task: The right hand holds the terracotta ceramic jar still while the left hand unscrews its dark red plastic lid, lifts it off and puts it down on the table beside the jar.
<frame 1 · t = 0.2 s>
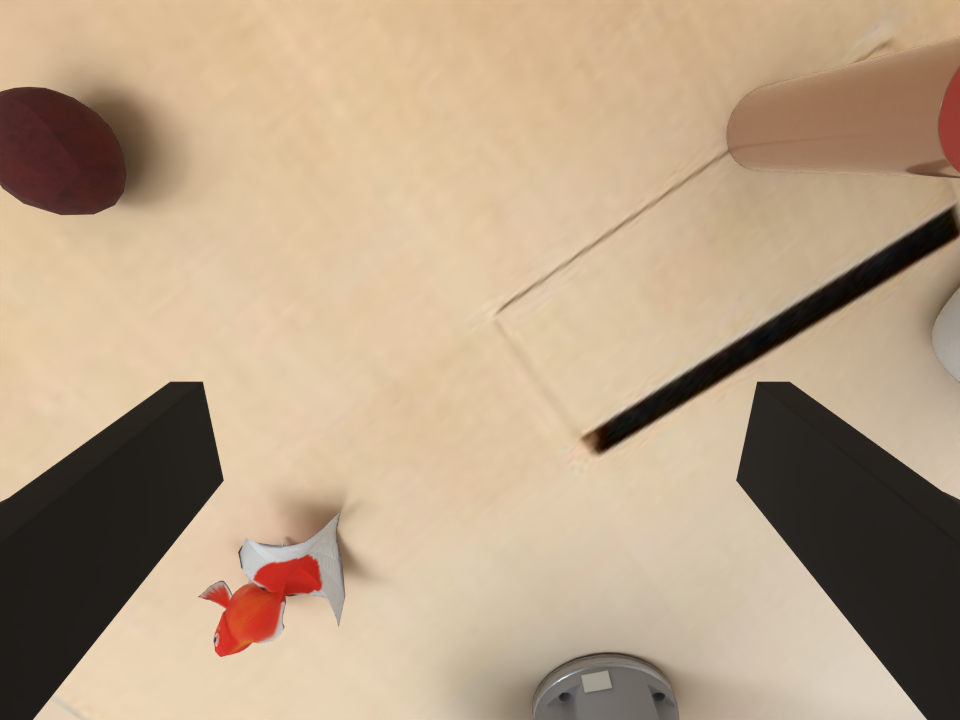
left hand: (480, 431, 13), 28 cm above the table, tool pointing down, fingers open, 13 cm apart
jar: (765, 128, 36), on the table
dark maroon ball: (97, 156, 36), on the table
fish: (293, 549, 49), on the table
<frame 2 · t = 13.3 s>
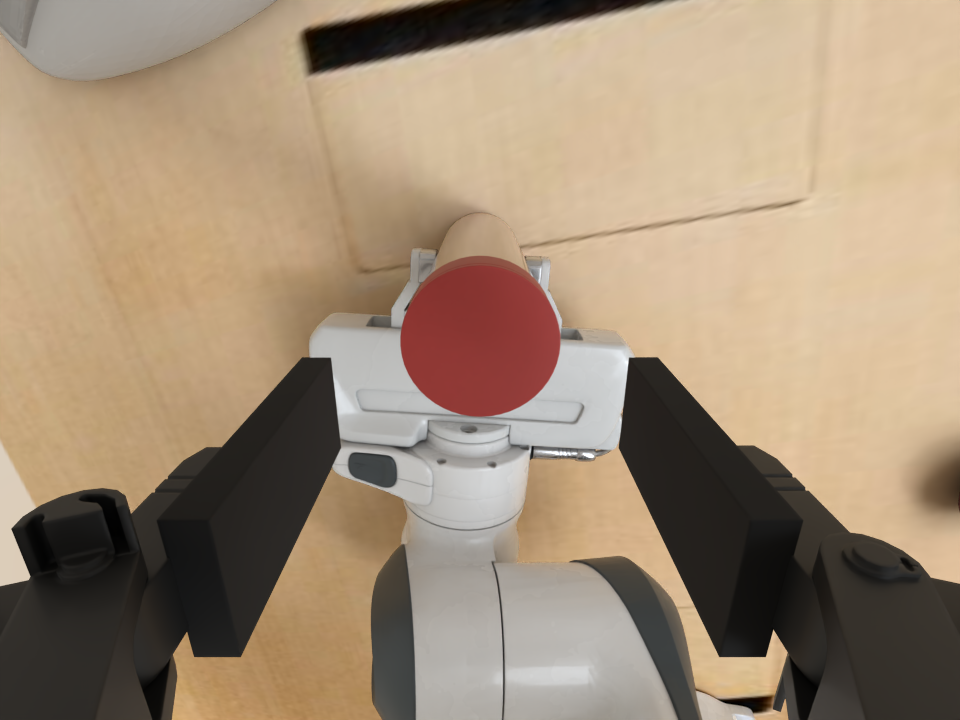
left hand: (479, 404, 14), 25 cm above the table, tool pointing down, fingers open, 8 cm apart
right hand: (480, 253, 31), fingers closed on jar, 5 cm apart
jar: (480, 251, 37), on the table, touching right hand
lid: (480, 342, 19), point 20 cm above the table, screwed on, not yet turned
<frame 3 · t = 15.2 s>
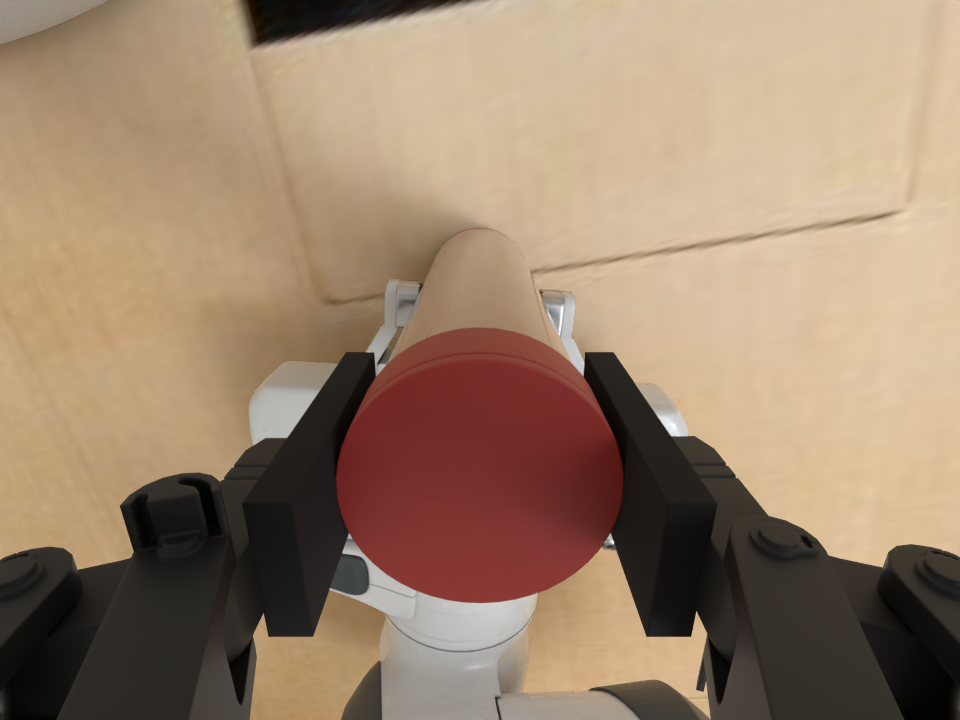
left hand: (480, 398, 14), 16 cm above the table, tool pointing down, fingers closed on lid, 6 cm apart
jar: (479, 277, 29), on the table, touching right hand
lid: (479, 483, 11), point 20 cm above the table, screwed on, not yet turned, touching left hand
when the left hand's fingers open (0 cm above the table, at t = 33.0 s): lid drops 3 cm, point 2 cm above the table.
when the right hand's fingers open (6 cm above the table, at t = 33.7 s): jar stays where it is, on the table.
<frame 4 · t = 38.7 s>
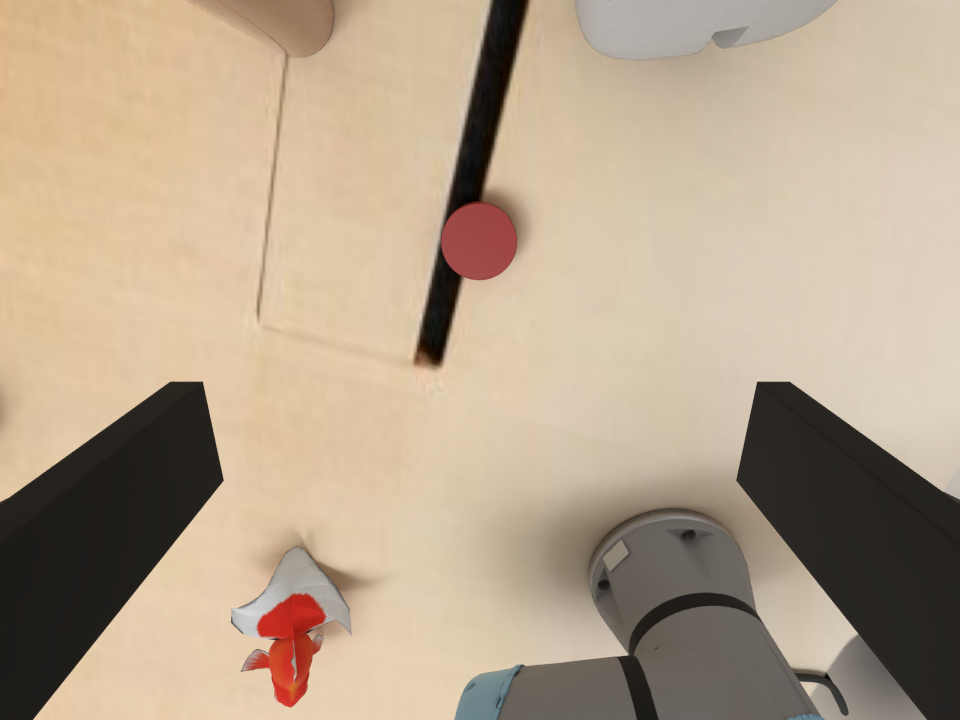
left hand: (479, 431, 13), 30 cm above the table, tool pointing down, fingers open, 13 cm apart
jar: (294, 12, 35), on the table
fish: (301, 594, 54), on the table
lid: (479, 242, 39), point 2 cm above the table, off its thread
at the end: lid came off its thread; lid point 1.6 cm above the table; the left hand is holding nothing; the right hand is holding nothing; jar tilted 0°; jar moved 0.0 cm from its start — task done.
